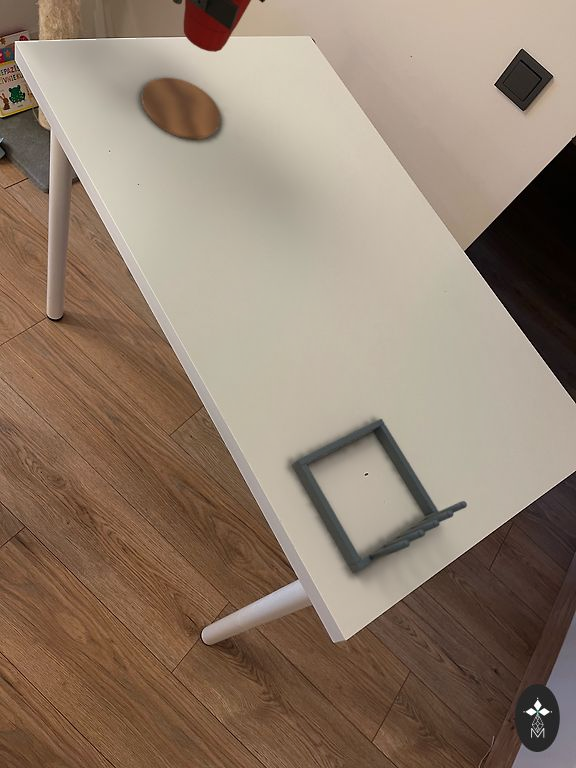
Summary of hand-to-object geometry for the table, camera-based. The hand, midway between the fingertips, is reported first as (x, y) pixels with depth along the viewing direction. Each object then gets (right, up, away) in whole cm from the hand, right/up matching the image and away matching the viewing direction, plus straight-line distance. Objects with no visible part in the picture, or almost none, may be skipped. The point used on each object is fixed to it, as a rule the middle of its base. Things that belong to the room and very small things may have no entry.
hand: (251, 4), depth 75 cm
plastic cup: (-7, -1, +6) cm, 9 cm away
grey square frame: (+14, -61, -2) cm, 63 cm away
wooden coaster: (-12, -6, +16) cm, 20 cm away
